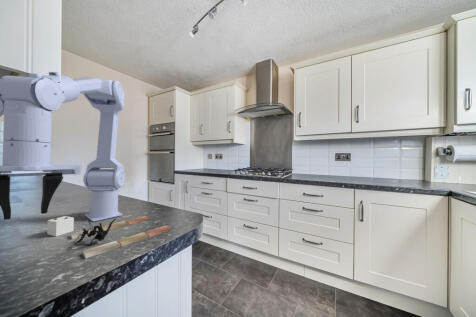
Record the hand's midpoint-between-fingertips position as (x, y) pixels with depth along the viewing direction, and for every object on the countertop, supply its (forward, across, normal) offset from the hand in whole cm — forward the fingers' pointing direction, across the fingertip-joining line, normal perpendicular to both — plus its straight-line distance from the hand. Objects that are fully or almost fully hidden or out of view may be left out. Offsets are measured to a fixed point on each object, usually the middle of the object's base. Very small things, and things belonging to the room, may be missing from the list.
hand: (26, 215), depth 32 cm
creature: (+9, +10, 0) cm, 13 cm away
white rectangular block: (+8, +6, +12) cm, 16 cm away
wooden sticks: (+8, +16, 0) cm, 18 cm away
